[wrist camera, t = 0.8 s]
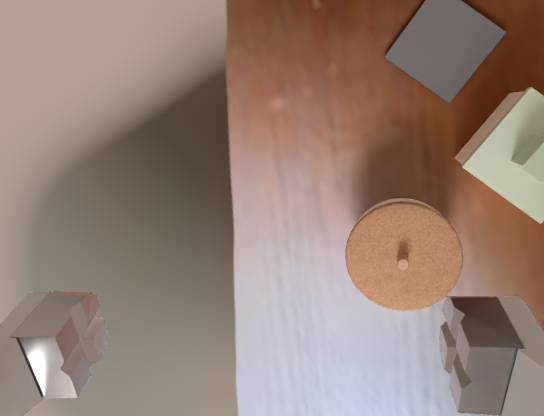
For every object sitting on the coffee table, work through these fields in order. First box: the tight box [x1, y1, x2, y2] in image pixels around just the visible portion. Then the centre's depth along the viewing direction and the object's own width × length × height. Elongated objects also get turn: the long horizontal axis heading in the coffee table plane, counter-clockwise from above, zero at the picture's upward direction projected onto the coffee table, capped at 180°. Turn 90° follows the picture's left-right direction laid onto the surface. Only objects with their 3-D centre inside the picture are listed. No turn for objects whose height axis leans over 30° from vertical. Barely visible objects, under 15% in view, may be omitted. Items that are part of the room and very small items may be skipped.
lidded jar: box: [345, 198, 463, 311], centre depth 46 cm, size 11×11×9 cm
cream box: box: [454, 91, 524, 164], centre depth 43 cm, size 8×8×6 cm
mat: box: [385, 0, 506, 103], centre depth 45 cm, size 8×8×1 cm
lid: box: [461, 87, 544, 224], centre depth 38 cm, size 8×8×4 cm
